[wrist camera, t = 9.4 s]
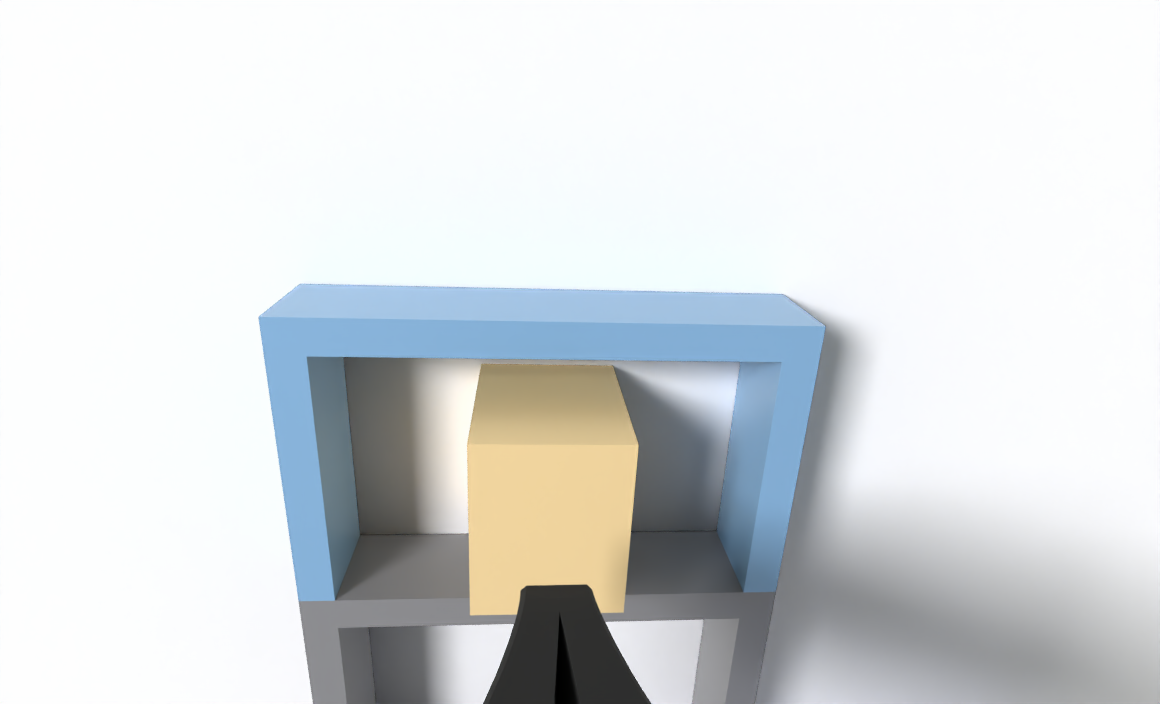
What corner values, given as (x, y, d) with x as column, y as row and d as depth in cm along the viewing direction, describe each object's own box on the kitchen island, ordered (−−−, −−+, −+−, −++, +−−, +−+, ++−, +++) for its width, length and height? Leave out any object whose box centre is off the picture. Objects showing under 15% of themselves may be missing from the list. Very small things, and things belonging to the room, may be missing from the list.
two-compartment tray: (782, 294, 19) (826, 326, 17) (712, 729, 26) (735, 805, 23) (299, 283, 18) (258, 317, 15) (352, 743, 25) (330, 825, 22)
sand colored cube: (612, 364, 20) (638, 444, 15) (602, 502, 22) (623, 612, 17) (481, 362, 20) (467, 444, 15) (482, 503, 21) (469, 615, 17)
